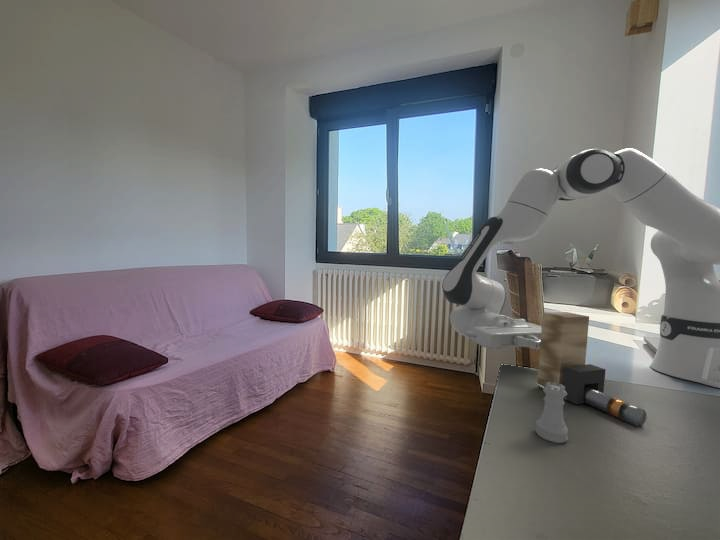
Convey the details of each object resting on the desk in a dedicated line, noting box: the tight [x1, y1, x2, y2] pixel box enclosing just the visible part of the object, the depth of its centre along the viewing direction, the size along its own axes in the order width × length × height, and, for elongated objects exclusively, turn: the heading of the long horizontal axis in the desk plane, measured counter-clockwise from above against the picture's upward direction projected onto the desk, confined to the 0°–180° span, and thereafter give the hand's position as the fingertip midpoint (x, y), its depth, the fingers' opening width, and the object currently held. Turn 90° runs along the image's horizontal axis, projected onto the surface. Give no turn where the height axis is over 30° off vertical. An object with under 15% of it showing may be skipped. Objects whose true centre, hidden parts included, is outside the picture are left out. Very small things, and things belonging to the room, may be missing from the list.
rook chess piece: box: [535, 382, 569, 444], centre depth 51 cm, size 4×4×8 cm
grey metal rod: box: [583, 386, 647, 428], centre depth 63 cm, size 15×3×3 cm, turn 20°
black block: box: [563, 364, 606, 405], centre depth 65 cm, size 3×7×6 cm, turn 109°
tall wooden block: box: [536, 311, 590, 387], centre depth 69 cm, size 5×7×16 cm
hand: (539, 345), depth 75 cm, fingers closed
